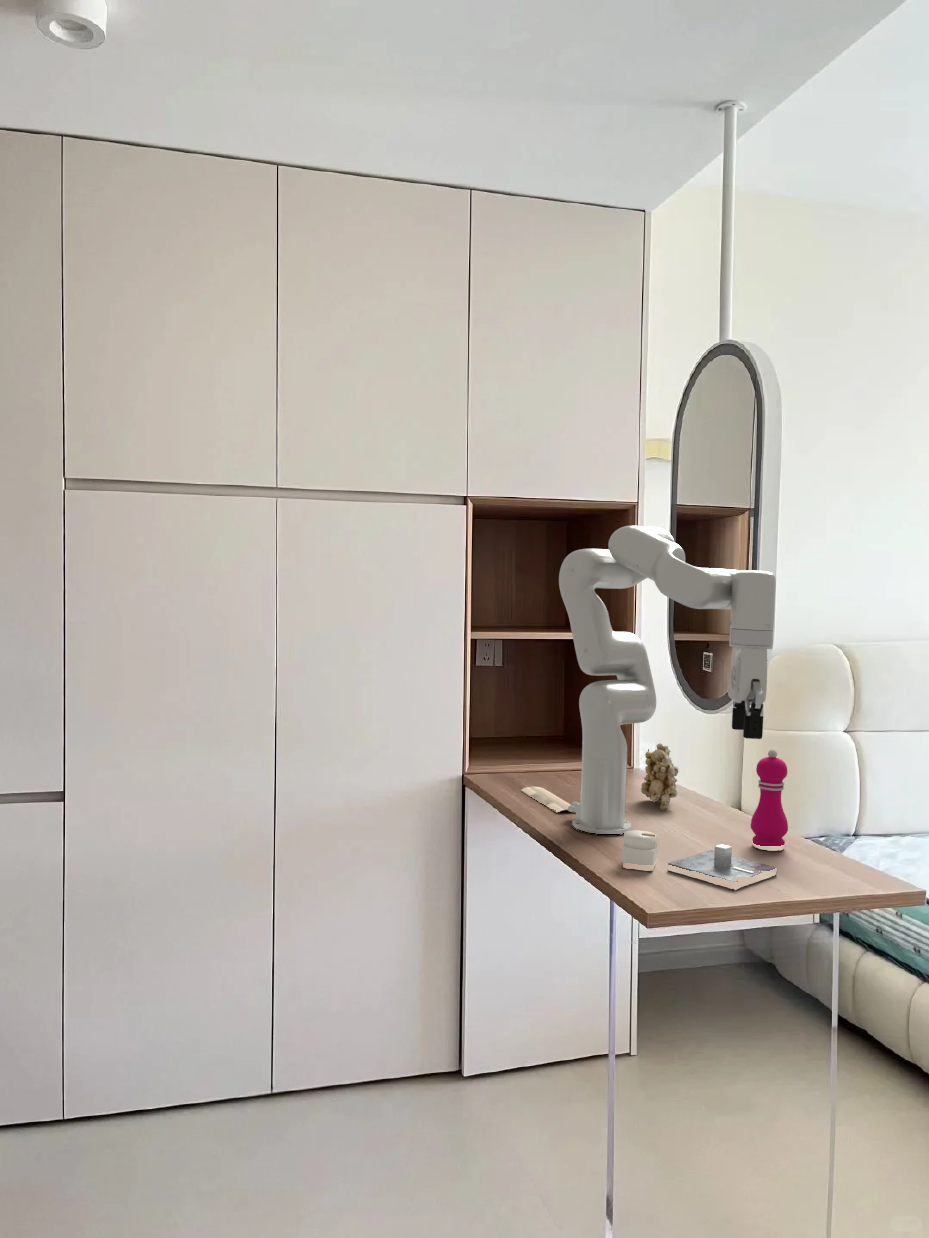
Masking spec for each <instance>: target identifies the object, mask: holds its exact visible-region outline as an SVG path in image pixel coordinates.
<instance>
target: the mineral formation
mask: <svg viewBox="0 0 929 1238" xmlns="http://www.w3.org/2000/svg"><path fill="white" fill-rule="evenodd" d="M656 748H657V749H654V751H646V752H645V754H644V755H645V761H644V762H645V763H644V764H645V765H647V766H645V769H644V770H645V774H646V775H645V777H643V779H644V781H643V782H642V783H641V785H640V786H641V788H640V790H641V793H642V794H644V795H645V796H646V797H647V798H649V800H650V801H652V803H655V802H659V803H660V806H659V807H660V810H663V811H664V810H666V808H667V807H669V806H670V802H671V799H672V798H673V799H674V798H676V797H677V795H678V791H677V785H676V783H677V781H678V779H677V778H676V777H677V776H678V774H679V772H680V771H679V768H678V767H677V766H674V763H673V762H672V761H673V760H672V758H671V757H670V753H671V752H672V751H671V750H670V749H669V746H667V745H663V744H662V743H657V745H656Z"/></svg>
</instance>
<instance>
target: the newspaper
mask: <svg viewBox="0 0 929 1238" xmlns="http://www.w3.org/2000/svg"><path fill="white" fill-rule="evenodd" d="M520 791H521V792H522V793H524V795H526V796H528V797H529V798H531V797H532V798H531V799H533V800H534V799H535V800H534V801H536V800H537V801H538V802H537V801H536V802H537V803H539V804H540V803H542V804H544V805H546V806H547V807H549V808H550V809H554V810H556V812H559V813H560V812H563V811H568V807H569V806H570V805H571V803H569V802H567V801H565V800H564V799H562V798H560V797H559V796H557V795H555V794H554V793H552V792H551V791H548V790H547V789H546V788H543V787H541V786H527V787H524V788H522V789H521V790H520ZM542 804H541V805H542ZM544 805H543V806H544ZM547 807H546V808H547ZM550 809H549V810H550Z"/></svg>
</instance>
